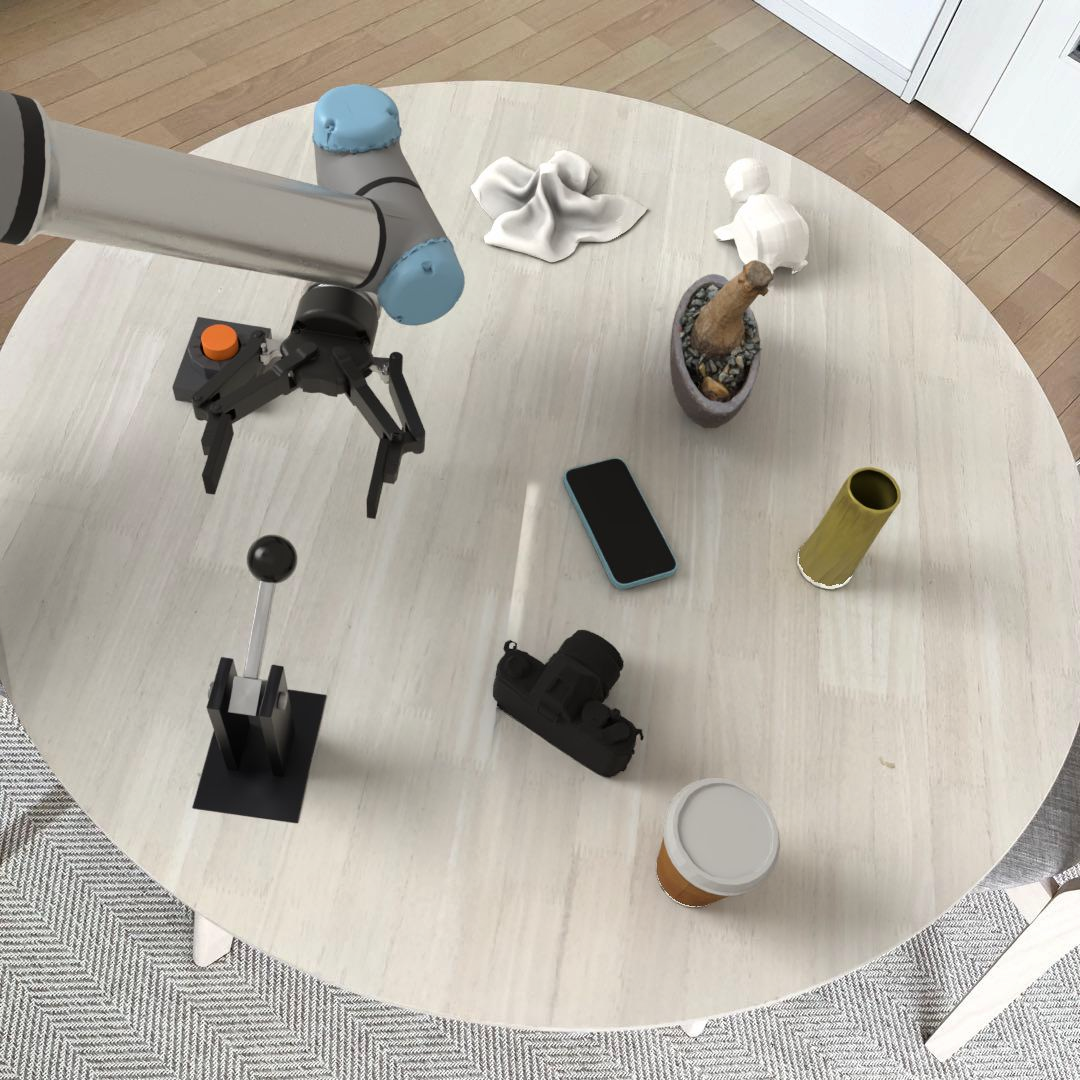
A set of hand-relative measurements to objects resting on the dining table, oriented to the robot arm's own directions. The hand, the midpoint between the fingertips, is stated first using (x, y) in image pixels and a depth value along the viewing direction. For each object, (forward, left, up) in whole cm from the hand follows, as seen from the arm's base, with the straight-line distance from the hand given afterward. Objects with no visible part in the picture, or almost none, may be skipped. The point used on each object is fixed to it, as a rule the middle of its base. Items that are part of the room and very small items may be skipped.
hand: (289, 498), depth 94 cm
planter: (+38, +34, -18) cm, 54 cm away
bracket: (0, -16, -18) cm, 24 cm away
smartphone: (+30, +14, -18) cm, 37 cm away
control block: (-14, +26, -18) cm, 34 cm away
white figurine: (+44, +59, -18) cm, 76 cm away
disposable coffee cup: (+39, -21, -18) cm, 48 cm away
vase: (+52, +13, -18) cm, 56 cm away
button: (-14, +26, -14) cm, 33 cm away
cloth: (+19, +60, -18) cm, 65 cm away
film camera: (+27, -7, -18) cm, 33 cm away
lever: (0, -10, -4) cm, 11 cm away
